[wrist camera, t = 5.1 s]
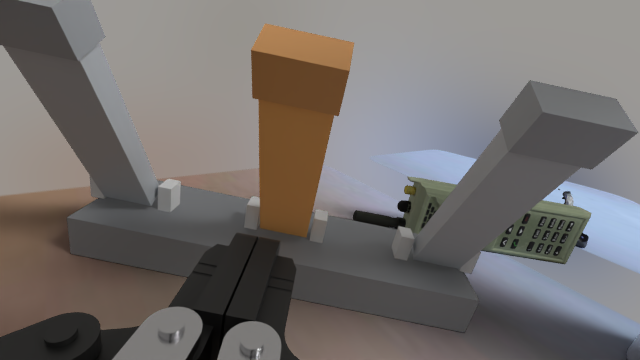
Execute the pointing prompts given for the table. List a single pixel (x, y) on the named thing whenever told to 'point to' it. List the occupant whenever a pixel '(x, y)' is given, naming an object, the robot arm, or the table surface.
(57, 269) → the table surface
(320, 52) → the orange paddle
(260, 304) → the robot arm
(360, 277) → the pegged base beam
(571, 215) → the handheld radio
